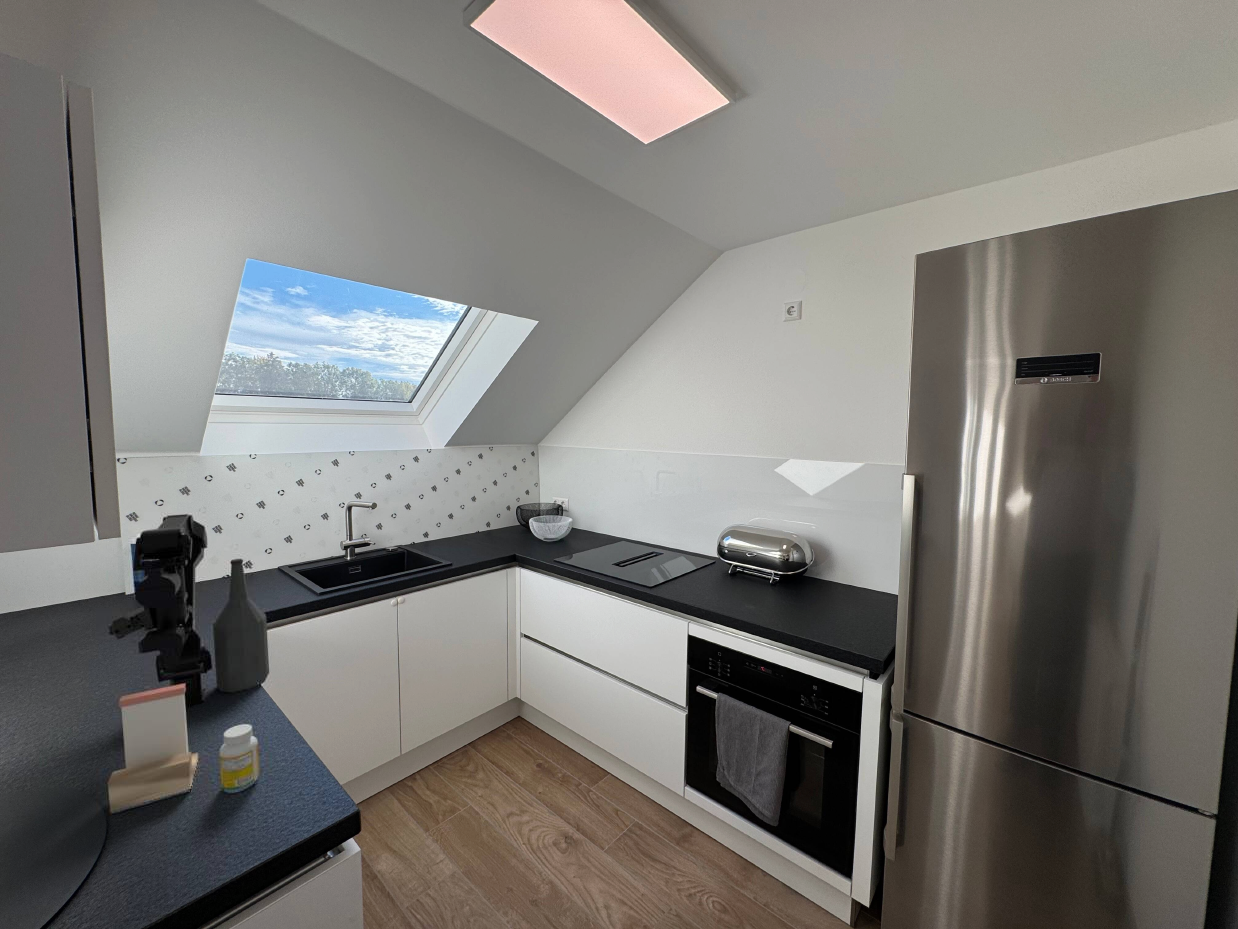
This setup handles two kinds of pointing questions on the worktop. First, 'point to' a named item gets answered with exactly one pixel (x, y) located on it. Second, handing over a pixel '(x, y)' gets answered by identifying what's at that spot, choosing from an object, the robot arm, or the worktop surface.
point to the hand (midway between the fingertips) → (172, 669)
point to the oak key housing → (151, 780)
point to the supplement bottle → (239, 758)
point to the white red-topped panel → (154, 724)
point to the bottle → (240, 638)
